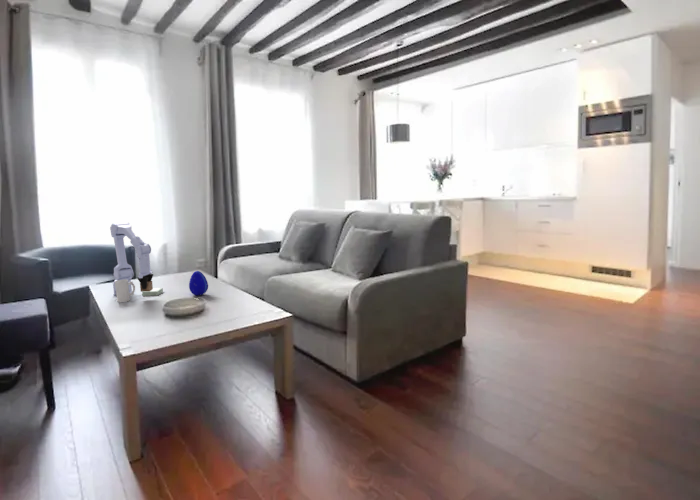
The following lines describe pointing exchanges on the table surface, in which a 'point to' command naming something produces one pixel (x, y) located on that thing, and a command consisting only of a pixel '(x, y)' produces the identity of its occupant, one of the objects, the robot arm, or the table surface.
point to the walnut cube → (149, 286)
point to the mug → (123, 290)
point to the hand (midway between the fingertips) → (146, 287)
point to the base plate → (153, 292)
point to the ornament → (198, 283)
